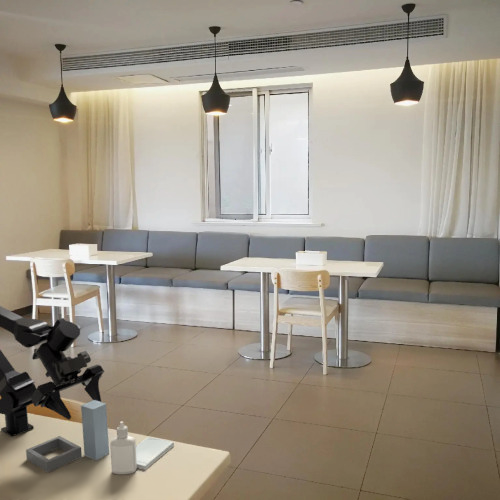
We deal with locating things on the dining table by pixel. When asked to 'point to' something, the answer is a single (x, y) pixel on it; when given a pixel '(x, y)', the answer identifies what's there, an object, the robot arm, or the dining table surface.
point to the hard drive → (151, 451)
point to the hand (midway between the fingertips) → (85, 411)
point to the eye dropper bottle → (123, 452)
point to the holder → (48, 465)
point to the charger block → (95, 429)
